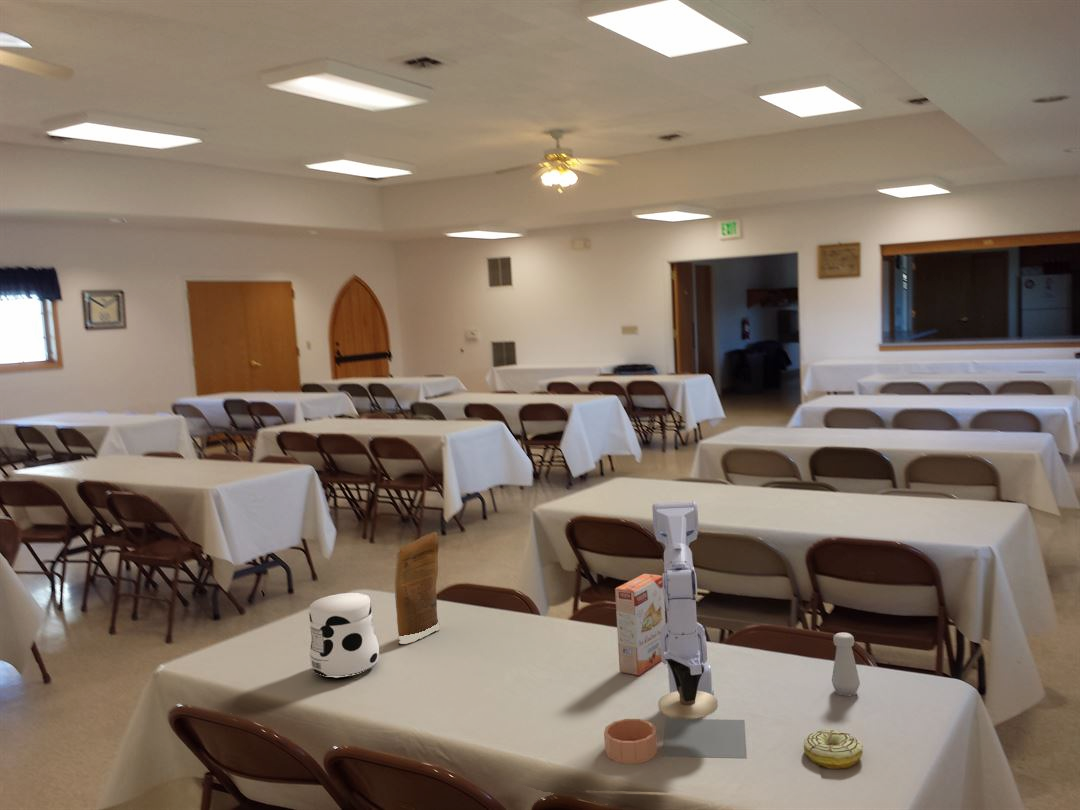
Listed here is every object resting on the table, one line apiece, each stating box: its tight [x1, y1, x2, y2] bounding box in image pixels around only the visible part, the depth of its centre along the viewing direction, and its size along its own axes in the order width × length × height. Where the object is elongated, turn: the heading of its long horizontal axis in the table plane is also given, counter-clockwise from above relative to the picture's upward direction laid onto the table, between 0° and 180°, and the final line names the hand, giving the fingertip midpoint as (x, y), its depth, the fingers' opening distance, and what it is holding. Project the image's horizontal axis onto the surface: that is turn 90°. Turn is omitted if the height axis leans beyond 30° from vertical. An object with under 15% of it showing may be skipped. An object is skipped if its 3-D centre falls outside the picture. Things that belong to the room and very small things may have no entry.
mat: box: [661, 718, 748, 759], centre depth 180 cm, size 16×16×1 cm
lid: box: [657, 686, 719, 719], centre depth 178 cm, size 12×12×4 cm
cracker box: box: [614, 573, 667, 677], centre depth 219 cm, size 14×6×21 cm, turn 143°
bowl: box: [603, 718, 658, 764], centre depth 177 cm, size 10×10×4 cm
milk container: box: [308, 592, 380, 676], centre depth 231 cm, size 17×17×18 cm
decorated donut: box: [803, 729, 864, 770], centre depth 169 cm, size 10×11×4 cm
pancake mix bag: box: [394, 531, 440, 637], centre depth 251 cm, size 7×19×28 cm, turn 144°
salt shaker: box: [831, 632, 861, 696], centre depth 196 cm, size 6×6×13 cm
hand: (686, 696), depth 178 cm, fingers closed on lid, 3 cm apart
